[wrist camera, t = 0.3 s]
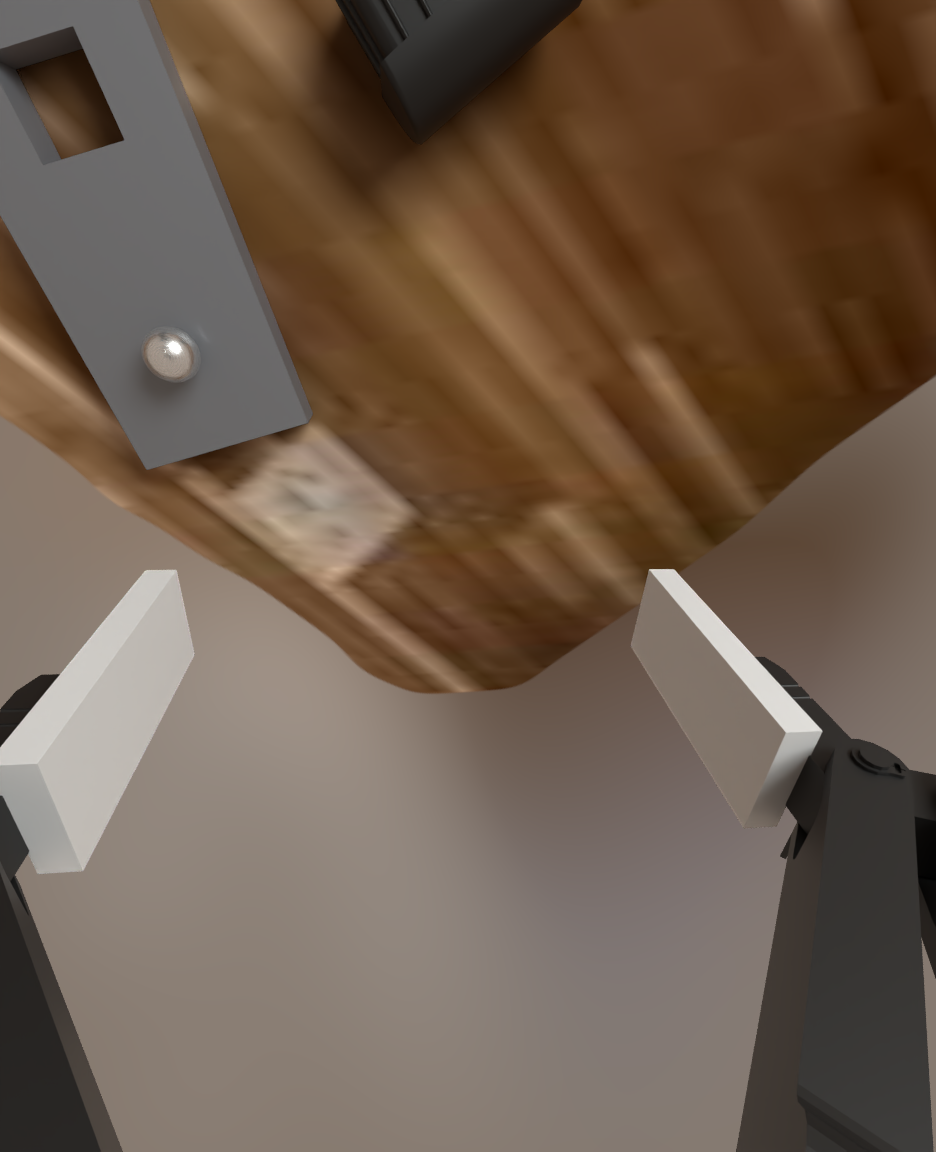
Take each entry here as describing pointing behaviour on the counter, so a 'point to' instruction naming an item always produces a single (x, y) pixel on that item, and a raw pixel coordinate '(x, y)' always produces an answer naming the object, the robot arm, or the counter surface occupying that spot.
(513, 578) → the counter surface
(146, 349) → the steel ball
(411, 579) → the counter surface
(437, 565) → the counter surface
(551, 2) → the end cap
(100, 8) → the hole plate
